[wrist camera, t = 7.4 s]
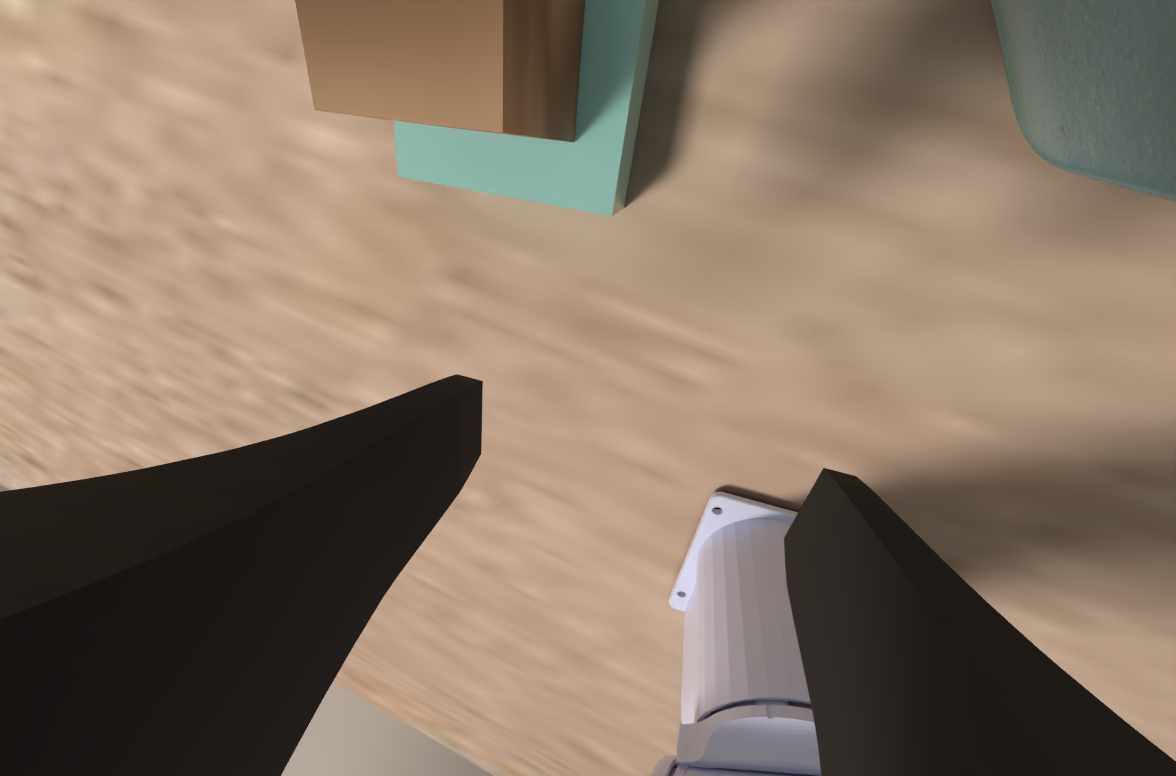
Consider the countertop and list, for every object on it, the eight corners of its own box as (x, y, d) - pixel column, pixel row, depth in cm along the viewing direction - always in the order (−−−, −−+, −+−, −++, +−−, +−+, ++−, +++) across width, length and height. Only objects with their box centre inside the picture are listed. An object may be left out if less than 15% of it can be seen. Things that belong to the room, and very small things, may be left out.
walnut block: (574, 142, 13) (502, 133, 9) (445, 126, 14) (314, 110, 9) (589, -53, 11) (504, -206, 7) (435, -60, 12) (258, -203, 7)
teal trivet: (625, 207, 17) (612, 216, 14) (441, 173, 18) (398, 176, 15) (673, -76, 13) (666, -134, 10) (432, -97, 14) (371, -154, 11)
